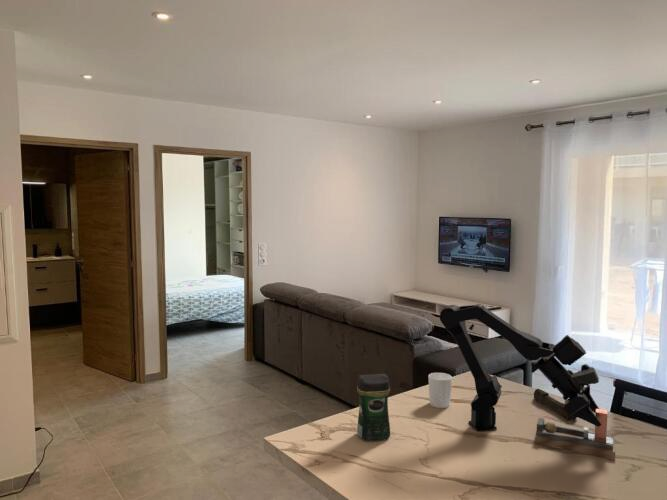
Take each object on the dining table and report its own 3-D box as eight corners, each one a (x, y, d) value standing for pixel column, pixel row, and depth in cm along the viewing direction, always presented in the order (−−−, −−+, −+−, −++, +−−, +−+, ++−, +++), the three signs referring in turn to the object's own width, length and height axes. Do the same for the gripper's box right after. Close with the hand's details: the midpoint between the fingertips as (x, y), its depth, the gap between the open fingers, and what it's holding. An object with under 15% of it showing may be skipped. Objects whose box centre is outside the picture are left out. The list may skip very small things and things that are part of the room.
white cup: (453, 409, 166) (454, 380, 165) (430, 409, 166) (430, 380, 165) (448, 400, 174) (449, 372, 173) (426, 400, 174) (426, 372, 173)
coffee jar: (385, 429, 151) (386, 369, 149) (392, 441, 143) (393, 378, 141) (354, 431, 149) (354, 371, 148) (359, 443, 141) (360, 380, 140)
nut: (548, 436, 142) (549, 425, 141) (541, 431, 145) (542, 420, 145) (558, 435, 142) (559, 424, 142) (551, 430, 145) (552, 419, 145)
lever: (583, 441, 138) (584, 411, 137) (583, 435, 142) (584, 405, 141) (612, 447, 134) (614, 416, 134) (612, 441, 138) (613, 410, 138)
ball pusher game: (534, 443, 142) (535, 426, 141) (537, 431, 149) (538, 415, 149) (614, 459, 132) (615, 441, 132) (613, 445, 140) (614, 428, 140)
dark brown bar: (578, 420, 158) (579, 406, 157) (567, 421, 157) (568, 407, 156) (540, 399, 176) (541, 386, 176) (530, 400, 175) (531, 387, 175)
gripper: (579, 367, 130) (626, 415, 126) (581, 349, 147) (622, 392, 142) (546, 391, 135) (590, 439, 130) (551, 371, 151) (591, 413, 147)
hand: (599, 419), depth 137 cm, fingers open, 9 cm apart
